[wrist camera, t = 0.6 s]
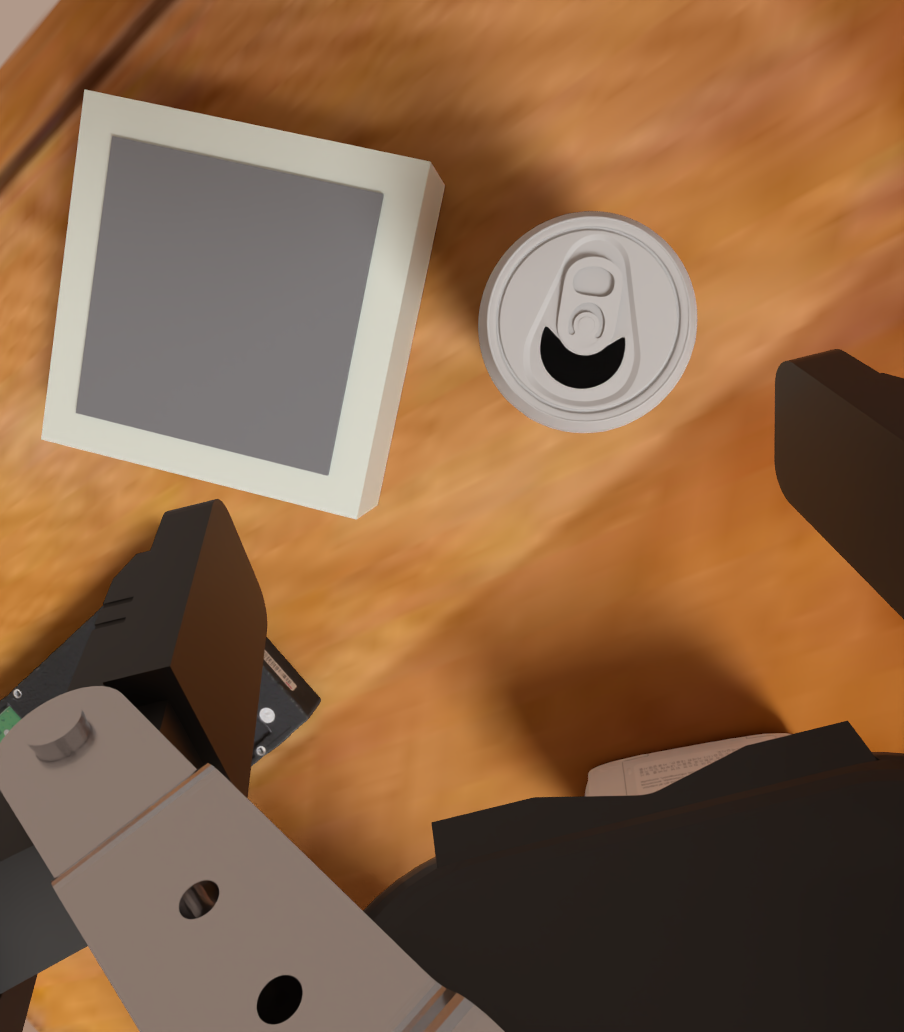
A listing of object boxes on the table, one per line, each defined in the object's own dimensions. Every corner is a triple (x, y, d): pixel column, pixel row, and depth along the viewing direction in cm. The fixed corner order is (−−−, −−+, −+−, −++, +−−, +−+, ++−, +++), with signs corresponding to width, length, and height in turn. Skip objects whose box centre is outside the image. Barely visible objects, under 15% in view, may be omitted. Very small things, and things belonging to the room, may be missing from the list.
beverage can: (493, 405, 35) (457, 419, 23) (516, 253, 34) (491, 187, 22) (640, 427, 34) (680, 453, 23) (669, 273, 33) (727, 215, 21)
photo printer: (594, 844, 38) (609, 1064, 26) (572, 761, 37) (576, 945, 25) (820, 805, 36) (950, 1022, 24) (800, 717, 35) (923, 893, 23)
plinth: (135, 120, 35) (81, 87, 31) (445, 185, 34) (429, 160, 30) (92, 433, 38) (38, 439, 34) (377, 504, 36) (355, 520, 32)
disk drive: (185, 535, 39) (-7, 718, 42) (157, 547, 36) (-46, 742, 39) (329, 694, 39) (129, 864, 42) (312, 717, 36) (99, 897, 39)
